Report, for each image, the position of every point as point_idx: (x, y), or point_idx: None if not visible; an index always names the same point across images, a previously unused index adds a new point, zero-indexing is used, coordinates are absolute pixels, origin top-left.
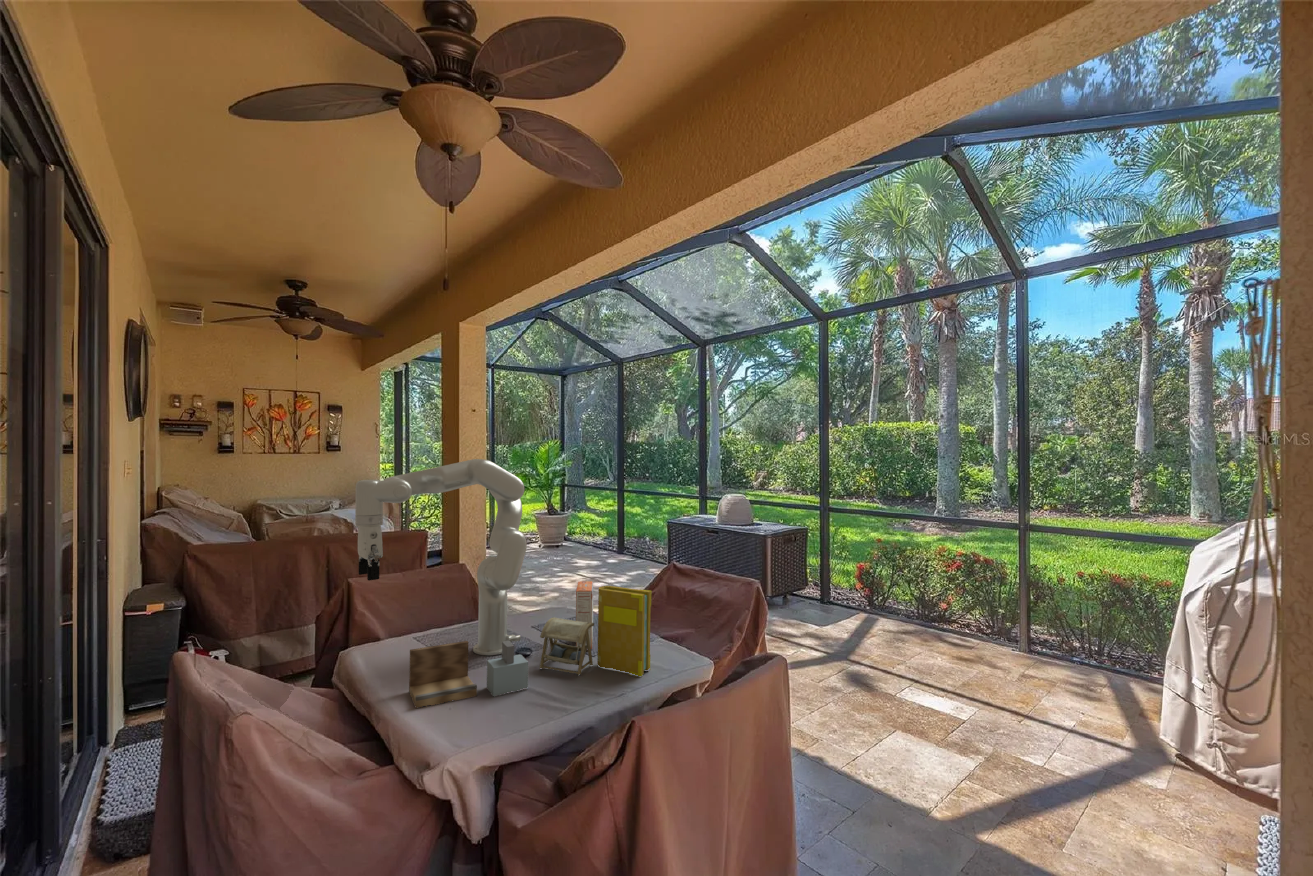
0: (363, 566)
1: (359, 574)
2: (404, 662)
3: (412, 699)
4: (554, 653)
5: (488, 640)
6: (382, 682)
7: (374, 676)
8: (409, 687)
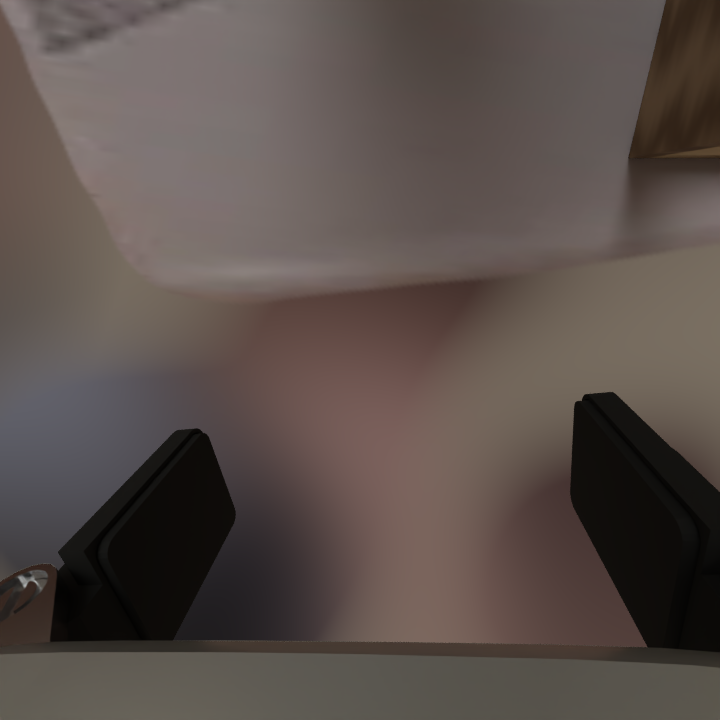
0: (179, 557)
1: (230, 515)
2: (330, 131)
3: (711, 157)
4: None
5: None
6: (482, 229)
7: (414, 246)
8: (645, 156)
